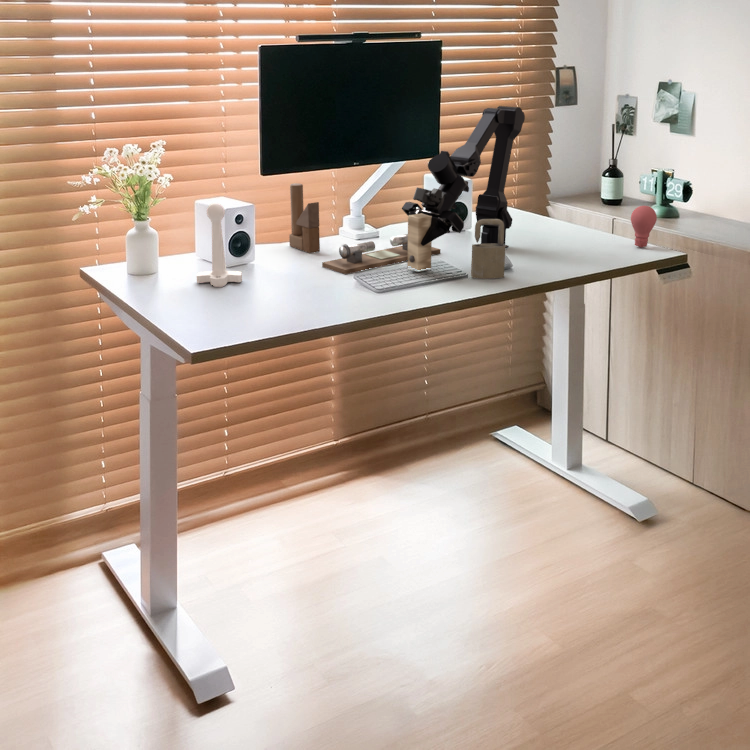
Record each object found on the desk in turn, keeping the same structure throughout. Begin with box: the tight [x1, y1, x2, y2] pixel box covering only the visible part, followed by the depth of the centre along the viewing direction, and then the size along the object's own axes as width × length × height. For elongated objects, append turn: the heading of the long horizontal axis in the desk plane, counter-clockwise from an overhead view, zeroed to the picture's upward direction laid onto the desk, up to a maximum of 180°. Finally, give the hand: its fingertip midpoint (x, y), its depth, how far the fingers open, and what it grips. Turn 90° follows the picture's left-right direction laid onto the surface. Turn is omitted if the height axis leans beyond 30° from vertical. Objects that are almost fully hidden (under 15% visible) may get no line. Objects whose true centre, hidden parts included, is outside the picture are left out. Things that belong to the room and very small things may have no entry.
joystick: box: [196, 202, 243, 288], centre depth 242 cm, size 11×8×20 cm
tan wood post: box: [407, 213, 433, 270], centre depth 254 cm, size 5×4×14 cm
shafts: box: [338, 233, 408, 264], centre depth 266 cm, size 28×4×5 cm, turn 130°
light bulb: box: [630, 205, 658, 249], centre depth 278 cm, size 7×7×12 cm
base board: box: [321, 245, 441, 275], centre depth 267 cm, size 34×10×2 cm, turn 130°
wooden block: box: [288, 182, 321, 254], centre depth 276 cm, size 4×11×18 cm, turn 36°
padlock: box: [470, 219, 507, 280], centre depth 249 cm, size 4×8×15 cm, turn 94°
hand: (415, 243), depth 253 cm, fingers closed on tan wood post, 5 cm apart
